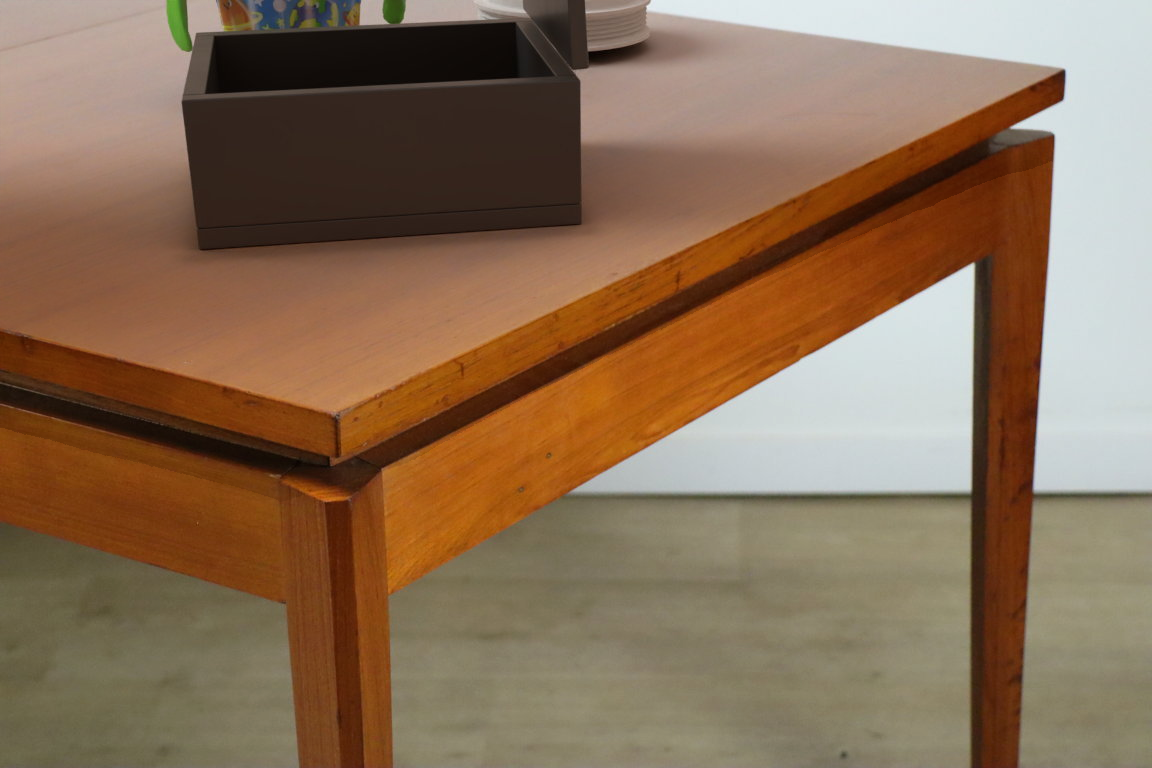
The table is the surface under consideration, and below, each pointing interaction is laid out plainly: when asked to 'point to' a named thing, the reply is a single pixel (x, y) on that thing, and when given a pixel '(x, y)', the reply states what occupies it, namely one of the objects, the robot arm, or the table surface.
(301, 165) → the dark brown open box
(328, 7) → the snack cup
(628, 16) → the stack of white plates
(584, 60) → the loader lid
